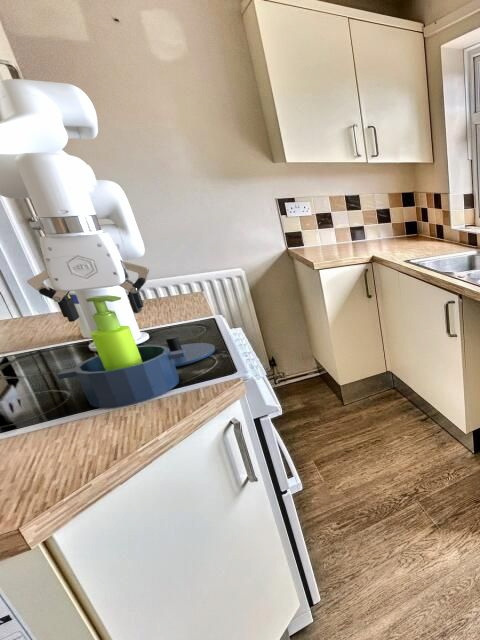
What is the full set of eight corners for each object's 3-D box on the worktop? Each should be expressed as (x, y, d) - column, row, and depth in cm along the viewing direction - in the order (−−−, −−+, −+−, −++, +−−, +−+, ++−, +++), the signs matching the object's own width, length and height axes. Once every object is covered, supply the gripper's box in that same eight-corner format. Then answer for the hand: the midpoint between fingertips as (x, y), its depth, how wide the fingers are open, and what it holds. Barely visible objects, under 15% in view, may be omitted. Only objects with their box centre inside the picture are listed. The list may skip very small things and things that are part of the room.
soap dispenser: (139, 394, 86) (102, 300, 79) (107, 395, 86) (67, 301, 79) (162, 381, 92) (129, 292, 84) (131, 382, 92) (96, 293, 85)
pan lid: (146, 355, 108) (138, 334, 106) (218, 343, 115) (212, 323, 113) (131, 377, 95) (122, 354, 93) (213, 362, 102) (206, 340, 100)
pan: (85, 388, 91) (71, 356, 88) (197, 367, 100) (188, 338, 97) (59, 419, 79) (42, 383, 76) (189, 392, 88) (177, 359, 85)
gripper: (-6, 232, 70) (39, 329, 76) (127, 224, 78) (158, 313, 84) (15, 228, 76) (55, 318, 82) (137, 221, 84) (164, 304, 90)
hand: (107, 315), depth 83 cm, fingers open, 9 cm apart
